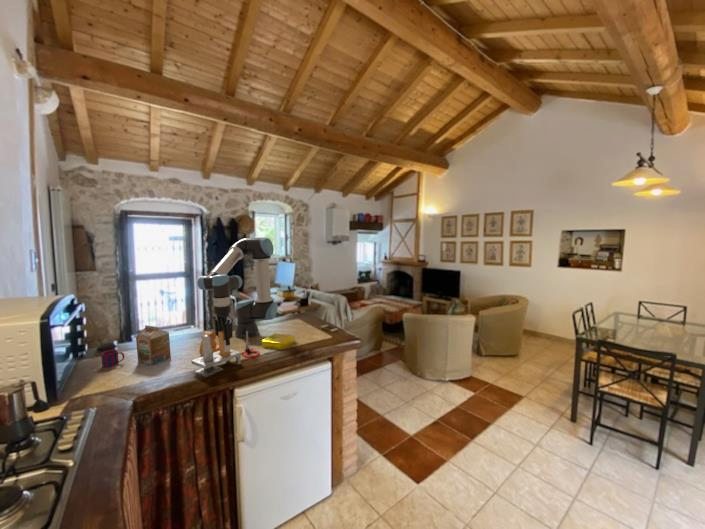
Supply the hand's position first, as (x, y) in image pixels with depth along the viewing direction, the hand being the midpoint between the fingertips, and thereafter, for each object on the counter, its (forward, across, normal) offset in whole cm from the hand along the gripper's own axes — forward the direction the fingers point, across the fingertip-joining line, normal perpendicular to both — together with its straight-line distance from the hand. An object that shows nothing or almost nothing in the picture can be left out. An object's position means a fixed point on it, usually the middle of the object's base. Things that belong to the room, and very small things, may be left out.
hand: (224, 350), depth 154 cm
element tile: (+8, +1, +35) cm, 36 cm away
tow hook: (+8, 0, +16) cm, 18 cm away
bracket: (+8, -22, +6) cm, 24 cm away
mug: (+8, -51, -31) cm, 60 cm away
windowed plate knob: (+8, 0, -4) cm, 9 cm away
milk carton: (+8, -38, -17) cm, 42 cm away
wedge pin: (+4, 0, 0) cm, 4 cm away
